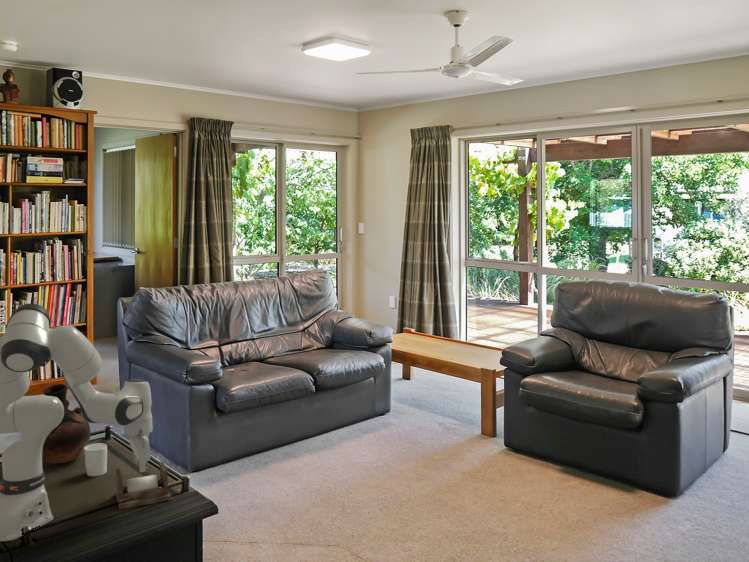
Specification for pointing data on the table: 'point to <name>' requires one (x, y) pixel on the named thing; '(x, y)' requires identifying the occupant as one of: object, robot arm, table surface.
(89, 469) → the white cup
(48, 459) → the ceramic vessel
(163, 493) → the roll holder
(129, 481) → the paper roll
